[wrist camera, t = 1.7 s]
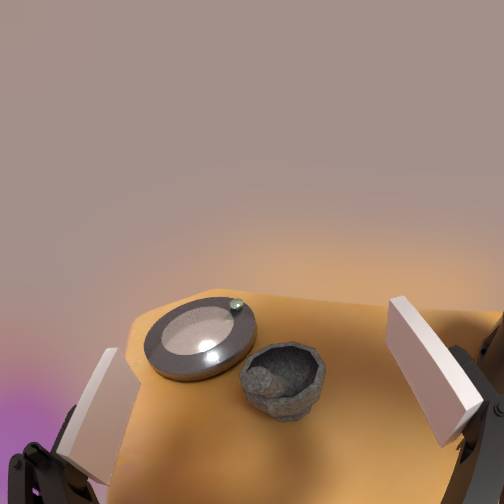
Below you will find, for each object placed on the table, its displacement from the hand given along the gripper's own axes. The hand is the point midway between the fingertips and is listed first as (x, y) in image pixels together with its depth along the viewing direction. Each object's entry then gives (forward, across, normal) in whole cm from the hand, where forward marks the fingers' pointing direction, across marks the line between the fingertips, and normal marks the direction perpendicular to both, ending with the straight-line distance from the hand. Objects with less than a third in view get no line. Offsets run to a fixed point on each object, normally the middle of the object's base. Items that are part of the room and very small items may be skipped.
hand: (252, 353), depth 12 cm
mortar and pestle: (+12, 0, -22) cm, 25 cm away
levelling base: (+28, -13, -22) cm, 37 cm away
